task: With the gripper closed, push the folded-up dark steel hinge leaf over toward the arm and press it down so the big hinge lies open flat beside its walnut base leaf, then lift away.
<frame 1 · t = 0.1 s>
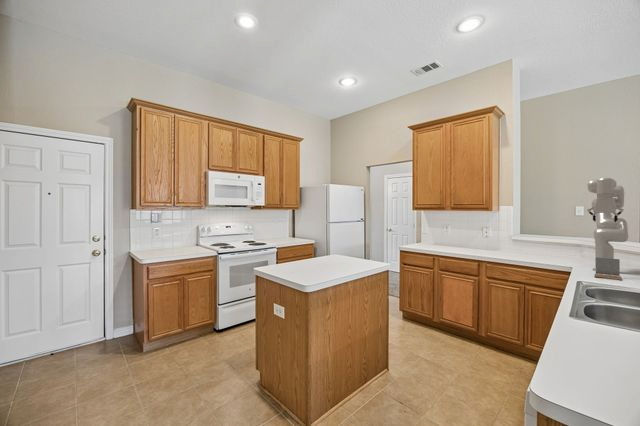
hand: (604, 221, 190), 37 cm above the counter, tool pointing down, fingers open, 9 cm apart
hinge base: (607, 279, 181), on the counter
hinge leaf: (607, 267, 185), point 6 cm above the counter, hinge at 90.0°
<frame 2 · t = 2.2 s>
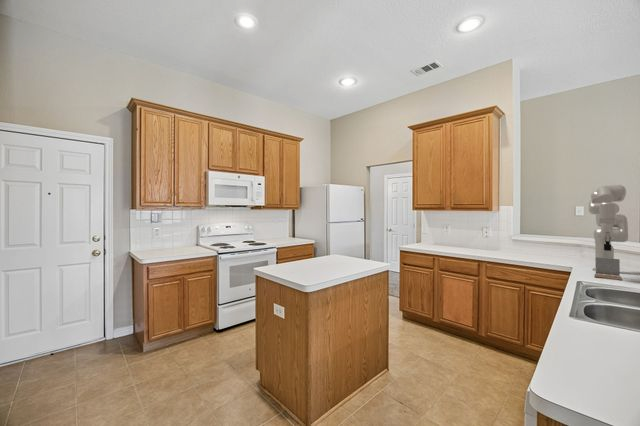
hand: (607, 250, 180), 18 cm above the counter, tool pointing down, fingers closed
nothing on the counter moved.
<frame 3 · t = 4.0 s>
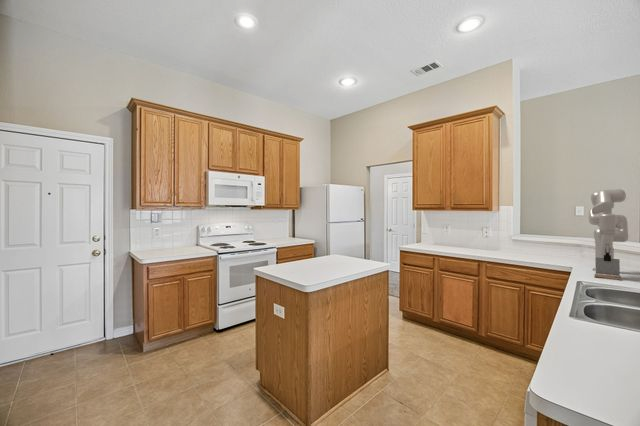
hand: (607, 261, 184), 11 cm above the counter, tool pointing down, fingers closed
hinge leaf: (607, 267, 185), point 6 cm above the counter, hinge at 88.3°, touching gripper
everything else where it was.
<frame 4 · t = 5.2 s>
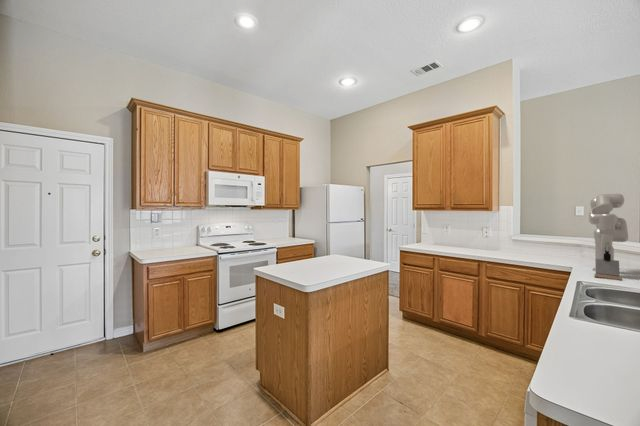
hand: (607, 259, 189), 11 cm above the counter, tool pointing down, fingers closed
hinge leaf: (607, 268, 187), point 6 cm above the counter, hinge at 58.0°, touching gripper
everything else where it was.
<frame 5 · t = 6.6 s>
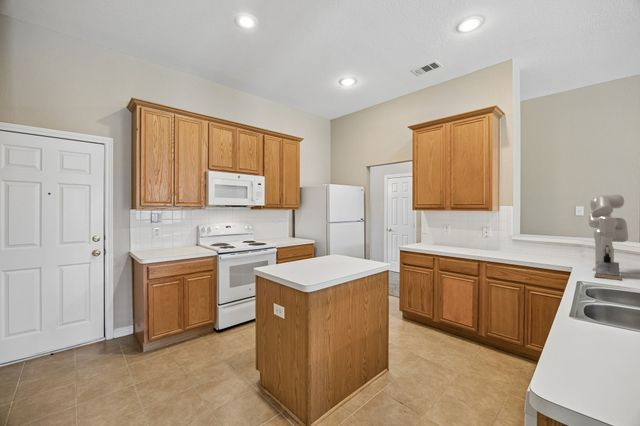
hand: (607, 262, 189), 10 cm above the counter, tool pointing down, fingers open, 5 cm apart
hinge leaf: (607, 269, 188), point 5 cm above the counter, hinge at 45.2°, touching gripper
everything else where it was.
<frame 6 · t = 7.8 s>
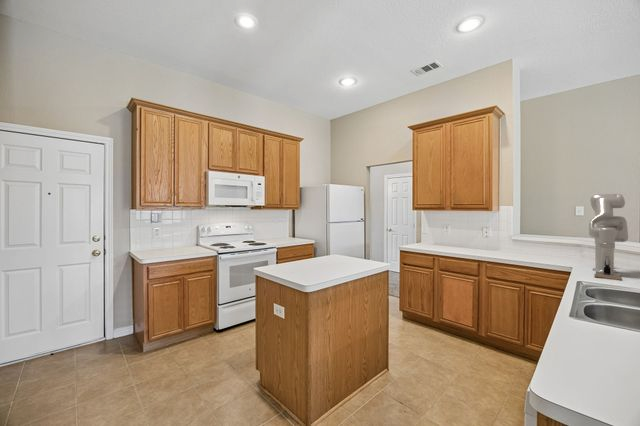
hand: (607, 273, 191), 2 cm above the counter, tool pointing down, fingers closed
hinge leaf: (607, 274, 189), point 1 cm above the counter, hinge at 2.4°, touching gripper
everything else where it was.
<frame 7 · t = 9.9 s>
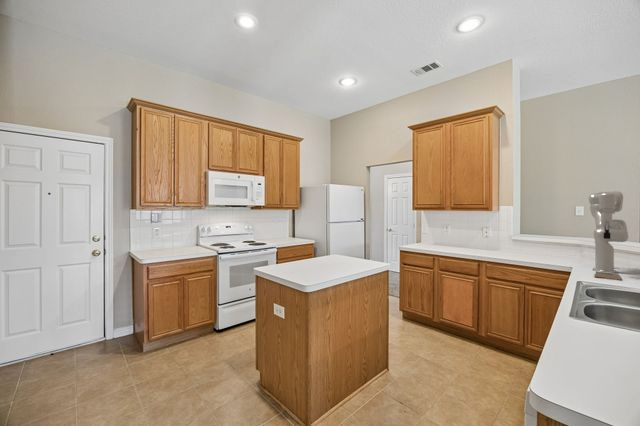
hand: (606, 238, 191), 25 cm above the counter, tool pointing down, fingers closed
hinge leaf: (607, 274, 189), point 1 cm above the counter, hinge at 1.9°
everything else where it was.
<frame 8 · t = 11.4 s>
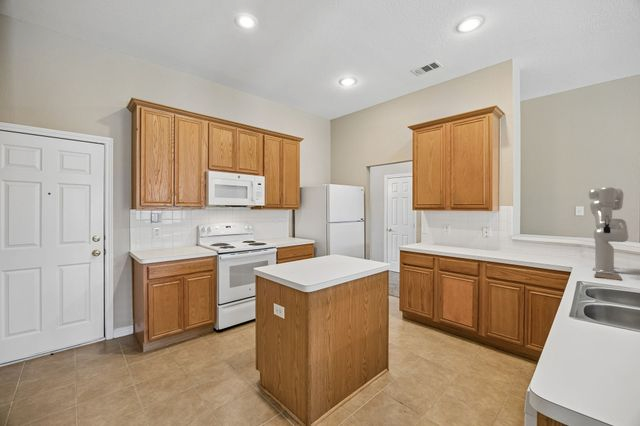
hand: (607, 233, 190), 29 cm above the counter, tool pointing down, fingers closed
nothing on the counter moved.
at the end: hinge leaf at +2° (first picture: +90°) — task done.
